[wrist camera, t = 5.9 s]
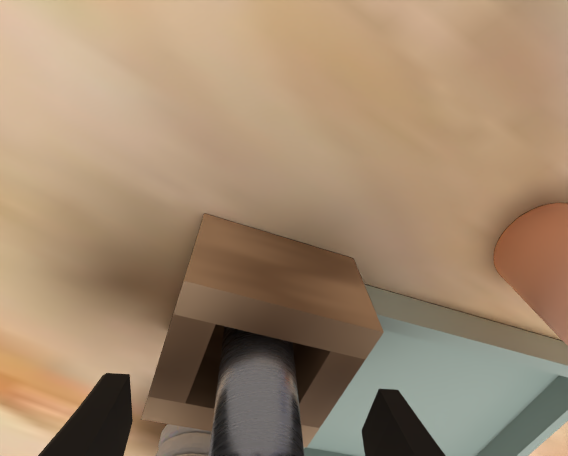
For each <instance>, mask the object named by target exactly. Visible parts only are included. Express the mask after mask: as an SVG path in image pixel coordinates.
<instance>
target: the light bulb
mask: <svg viewBox="0 0 568 456" xmlns="http://www.w3.org/2000/svg"><path fill="white" fill-rule="evenodd" d="M211 434H212V431H206V430H200V429H194V428H188V427H182V426H176V425H170V424H167V425H166V426H165V428H164V429H163V431H162V433H161V436H160V440H159V449H158V451H157V453H156V456H209V450H210V442H211Z"/></svg>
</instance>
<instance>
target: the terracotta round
mask: <svg viewBox="0 0 568 456" xmlns="http://www.w3.org/2000/svg"><path fill="white" fill-rule="evenodd" d="M494 265H495V268H496V270H497V272H498V273H499V274H500V275H501V276H502V277H503V278H504V279H505V281H506V282H507V283H508V284H509V285H510V286H511V287H512V288H513V289H514V290H515V291H516V292H517V293H518V294H519V295H520V296H521V297H522V298H523V299H524V301H525V302H526V303H527V304H528V305H529V306H530V307H531V308H532V309H533V310H534V311H535V312H536V313H537V314H538V315H539V316H540V317H541V318H542V319H543V321H544V322H545V323H546V324H547V325H548V326H549V327H550V328H551V329H552V330H553V331H554V332H555V333H556V334H557V335H558V336H559V337H560V338H561V339H562V341H563V342H564V343H565V344H566V345H567V346H568V204H567V203H553V204H547V205H543V206H540V207H537V208H535V209H533V210H531V211H529V212H527V213H525V214H523V215H522V216H520V217H519V218H518V219H516V220H515V221H514V222H513V223H512V224H511V225H510V226H509V227H508V228H507V229H506V230H505V231H504V233H503V234H502V235H501V237H500V238H499V240H498V242H497V245H496V247H495V251H494Z"/></svg>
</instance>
